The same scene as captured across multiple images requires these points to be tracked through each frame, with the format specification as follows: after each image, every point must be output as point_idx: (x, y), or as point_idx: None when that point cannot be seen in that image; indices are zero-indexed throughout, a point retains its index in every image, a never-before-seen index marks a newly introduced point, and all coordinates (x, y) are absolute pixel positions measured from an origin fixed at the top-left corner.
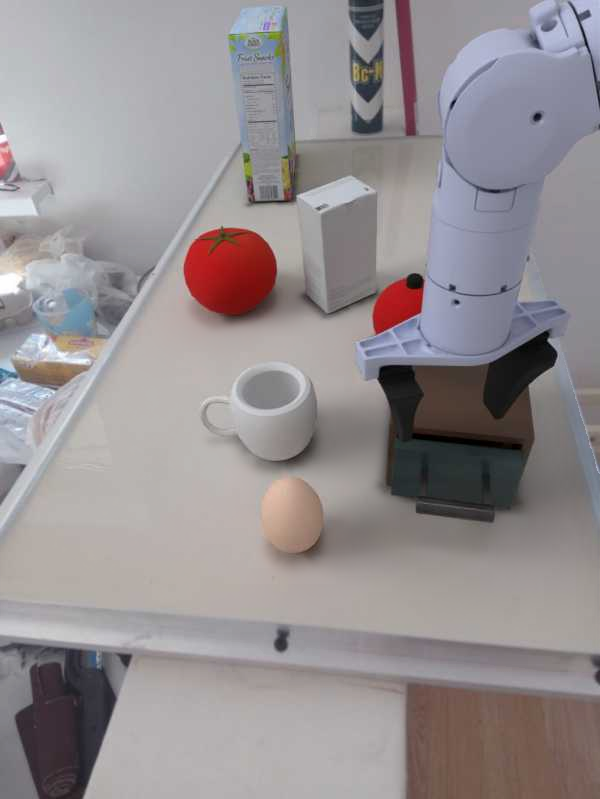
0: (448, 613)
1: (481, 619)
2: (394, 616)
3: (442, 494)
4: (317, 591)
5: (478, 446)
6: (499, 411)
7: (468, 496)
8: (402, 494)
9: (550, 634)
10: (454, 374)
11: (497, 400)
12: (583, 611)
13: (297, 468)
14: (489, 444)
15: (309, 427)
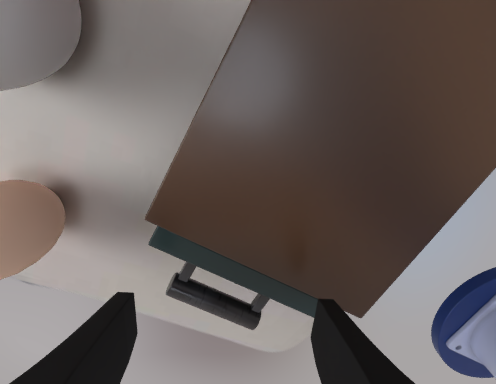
0: (188, 310)
1: (214, 320)
2: (138, 300)
3: None
4: (66, 261)
5: (281, 283)
6: (317, 368)
7: None
8: None
9: (261, 342)
10: (341, 137)
11: (326, 368)
12: (299, 336)
13: (58, 88)
14: None
15: (38, 72)
